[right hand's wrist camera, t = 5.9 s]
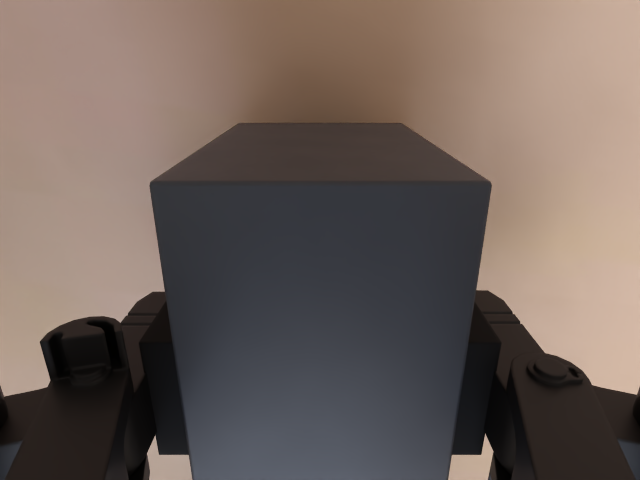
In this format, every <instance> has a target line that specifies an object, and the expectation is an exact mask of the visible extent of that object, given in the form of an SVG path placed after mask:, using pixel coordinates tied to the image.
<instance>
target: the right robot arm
mask: <svg viewBox="0 0 640 480" xmlns="http://www.w3.org/2000/svg"><path fill="white" fill-rule="evenodd" d="M40 344H41V348H42V351H43V355H44V358H45V362H46V365H47V369H48V373H49V376H50V380H51V381H50V383H49V385H48V387H47V388H43V389H39V390H34V391H30V392H25V393H20V394H15V395H10V396H5V397H4V395H3V392H2V390H1V387H0V480H149V475H150V469H149V462H148V457H147V452H148V450H149V447H150V445H151V443H152V441H153V439H154V436H155V435H156V440H157V446H158V451H159V455H189V452H188V445H187V438H186V431H185V424H184V418H183V411H182V404H181V397H180V390H179V383H178V377H177V370H176V363H175V356H174V349H173V342H172V336H171V329H170V322H169V315H168V308H167V301H166V295H165V292H152V293H150V294H149V295H147V296H146V297H144V298H142V299H141V300H139V301H138V302H137V303H136V304H135V305H134V306H133V308H132V309H131V310H130V312H129V313H128V316H126V317H125V318H124V319H123V321H122V322H121V323H120V322H118V321H117V320H116V319H114V318H109V317H105V316H100V317H87V318H82V319H77V320H73V321H71V322H68V323H66V324H63V325H60V326H59V327H57V328H55V329H54V330H52V331H50V332H49V333H47V334H46V336H45V337H44V338H43V339H42V340H41V341H40ZM485 433H486V436H487V438H488V440H489V442H490V445H491V447H492V449H493V451H494V452H493V457H492V462H491V467H490V472H489V477H488V480H640V388H639V391H638V394H637V395H635V394H630V393H625V392H620V391H615V390H610V389H605V388H601V387H597V386H593V385H592V384H591V382H590V380H589V379H588V377H587V376H586V375H585V374H584V372H583V371H582V370H581V369H579V368H578V367H576V366H575V365H574V364H572V363H571V362H569V361H567V360H564V359H562V358H560V357H558V356H554V355H550V354H546V353H544V351H543V350H542V349H541V348H540V346H539V345H538V344H537V343H536V341H535V340H534V339H533V337H532V336H531V335H530V334H529V332H528V331H527V330H526V329H525V327H524V326H523V325H522V324H520V321H519V320H518V318H517V317H516V316H515V315H514V314H513V313H512V311H511V309H510V308H509V307H508V306H507V304H506V303H505V302H504V301H503V300H502V299H500V298H499V297H497V296H496V295H494V294H492V293H491V292H489V291H476V294H475V301H474V308H473V315H472V321H471V328H470V335H469V341H468V348H467V355H466V362H465V368H464V375H463V382H462V389H461V395H460V402H459V409H458V415H457V422H456V429H455V436H454V442H453V449H452V455H481V453H482V447H483V442H484V436H485Z"/></svg>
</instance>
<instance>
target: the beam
mask: <svg viewBox="0 0 640 480" xmlns="http://www.w3.org/2000/svg"><path fill="white" fill-rule="evenodd" d="M491 187H492V185H491V182H490V181H488V180H487V179H485V178H484V177H482V176H481V175H479V174H478V173H476V172H475V171H473V170H472V169H470V168H469V167H467V166H466V165H464V164H463V163H461V162H459V161H458V160H456V159H455V158H453V157H452V156H450V155H449V154H447V153H446V152H444V151H443V150H441V149H440V148H438V147H437V146H435V145H434V144H432V143H431V142H429V141H428V140H426V139H425V138H423V137H421V136H420V135H418V134H417V133H415V132H414V131H412V130H411V129H409V128H408V127H406V126H405V125H403V124H401V123H239V124H237V125H235V126H234V127H232V128H231V129H229V130H228V131H226V132H225V133H223V134H222V135H220V136H219V137H217V138H216V139H214V140H213V141H211V142H210V143H208V144H207V145H205V146H204V147H202V148H201V149H199V150H198V151H196V152H195V153H193V154H192V155H190V156H189V157H187V158H186V159H184V160H183V161H181V162H180V163H178V164H177V165H175V166H174V167H172V168H171V169H169V170H168V171H166V172H165V173H163V174H162V175H160V176H159V177H157V178H156V179H154V180H153V181H151V182H150V192H151V199H152V206H153V213H154V219H155V226H156V233H157V240H158V247H159V254H160V260H161V267H162V274H163V281H164V288H165V295H166V301H167V308H168V315H169V322H170V329H171V336H172V342H173V349H174V356H175V363H176V370H177V377H178V383H179V390H180V397H181V404H182V411H183V418H184V424H185V431H186V438H187V445H188V452H189V459H190V466H191V472H192V479H193V480H448V476H449V469H450V463H451V456H452V449H453V442H454V436H455V429H456V422H457V415H458V409H459V402H460V395H461V389H462V382H463V375H464V368H465V362H466V355H467V348H468V341H469V335H470V328H471V321H472V315H473V308H474V301H475V294H476V288H477V281H478V274H479V267H480V261H481V254H482V247H483V241H484V234H485V227H486V220H487V214H488V207H489V200H490V193H491Z"/></svg>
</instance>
